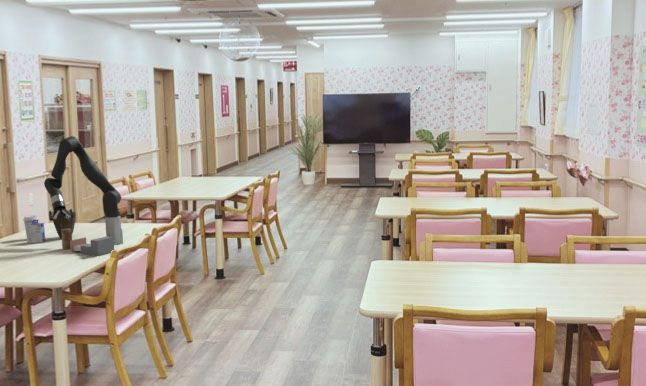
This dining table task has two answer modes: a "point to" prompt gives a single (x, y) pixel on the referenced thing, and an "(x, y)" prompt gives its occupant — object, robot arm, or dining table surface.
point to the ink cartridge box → (35, 232)
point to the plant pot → (64, 224)
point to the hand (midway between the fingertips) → (63, 224)
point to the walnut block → (66, 238)
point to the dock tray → (78, 244)
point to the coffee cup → (29, 220)
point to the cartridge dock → (99, 246)
